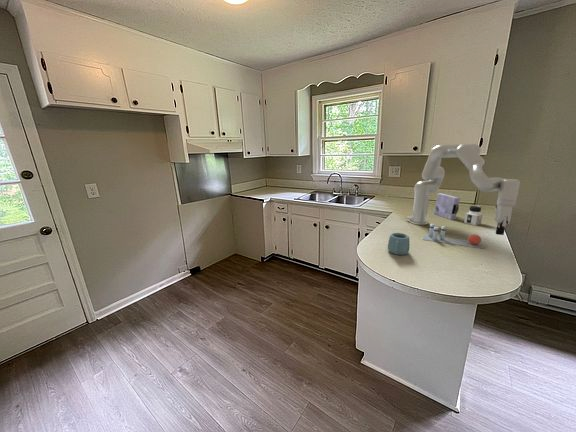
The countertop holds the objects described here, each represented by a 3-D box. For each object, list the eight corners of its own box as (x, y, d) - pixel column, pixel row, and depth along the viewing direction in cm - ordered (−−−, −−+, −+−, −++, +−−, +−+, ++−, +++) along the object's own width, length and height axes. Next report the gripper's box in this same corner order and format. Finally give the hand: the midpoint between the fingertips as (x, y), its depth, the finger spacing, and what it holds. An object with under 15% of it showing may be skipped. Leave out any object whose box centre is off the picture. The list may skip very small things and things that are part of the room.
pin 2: (432, 240, 149) (434, 227, 147) (432, 239, 151) (433, 226, 149) (436, 241, 148) (438, 228, 145) (436, 240, 150) (438, 227, 147)
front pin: (439, 240, 150) (441, 227, 147) (439, 238, 152) (441, 226, 149) (444, 240, 148) (446, 227, 146) (443, 239, 150) (446, 226, 148)
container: (475, 225, 174) (479, 208, 170) (463, 222, 181) (467, 205, 177) (481, 223, 177) (484, 206, 174) (469, 221, 184) (472, 204, 180)
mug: (406, 261, 124) (408, 243, 121) (383, 256, 130) (385, 239, 127) (409, 250, 136) (412, 233, 134) (389, 246, 142) (390, 230, 139)
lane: (423, 239, 151) (423, 239, 151) (423, 234, 159) (423, 234, 159) (483, 248, 136) (483, 248, 136) (480, 242, 145) (480, 242, 144)
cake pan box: (457, 219, 188) (461, 197, 183) (451, 220, 187) (455, 198, 182) (438, 213, 206) (441, 193, 201) (433, 213, 205) (436, 193, 200)
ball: (467, 245, 141) (469, 235, 140) (466, 241, 146) (468, 232, 145) (480, 247, 138) (482, 237, 137) (479, 243, 143) (481, 233, 142)
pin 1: (428, 237, 154) (430, 224, 152) (428, 236, 157) (430, 223, 154) (432, 237, 153) (434, 225, 151) (432, 236, 155) (434, 224, 153)
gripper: (494, 199, 138) (488, 229, 143) (500, 204, 126) (493, 237, 130) (511, 200, 134) (504, 231, 139) (519, 205, 122) (512, 239, 127)
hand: (499, 234), depth 135 cm, fingers closed
